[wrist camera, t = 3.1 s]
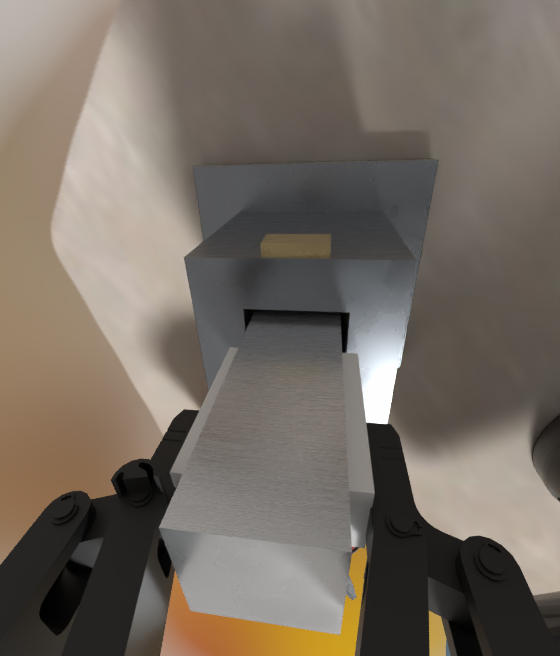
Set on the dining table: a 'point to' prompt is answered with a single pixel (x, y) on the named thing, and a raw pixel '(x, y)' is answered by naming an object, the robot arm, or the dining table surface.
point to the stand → (312, 255)
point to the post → (270, 482)
